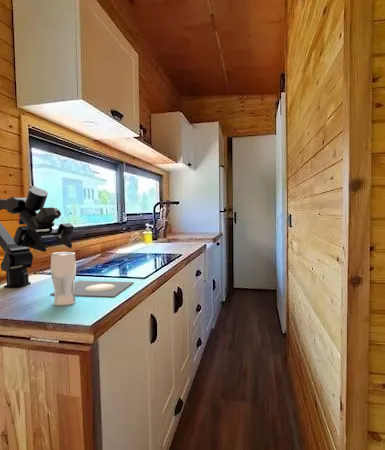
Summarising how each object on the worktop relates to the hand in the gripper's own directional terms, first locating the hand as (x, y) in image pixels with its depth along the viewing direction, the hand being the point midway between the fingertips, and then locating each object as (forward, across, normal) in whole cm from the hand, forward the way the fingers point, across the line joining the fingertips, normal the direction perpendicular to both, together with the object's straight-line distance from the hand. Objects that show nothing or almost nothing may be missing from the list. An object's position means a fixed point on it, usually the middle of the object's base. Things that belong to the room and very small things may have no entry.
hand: (59, 248), depth 98 cm
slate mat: (+11, +11, +11) cm, 19 cm away
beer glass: (+15, -4, +8) cm, 18 cm away
